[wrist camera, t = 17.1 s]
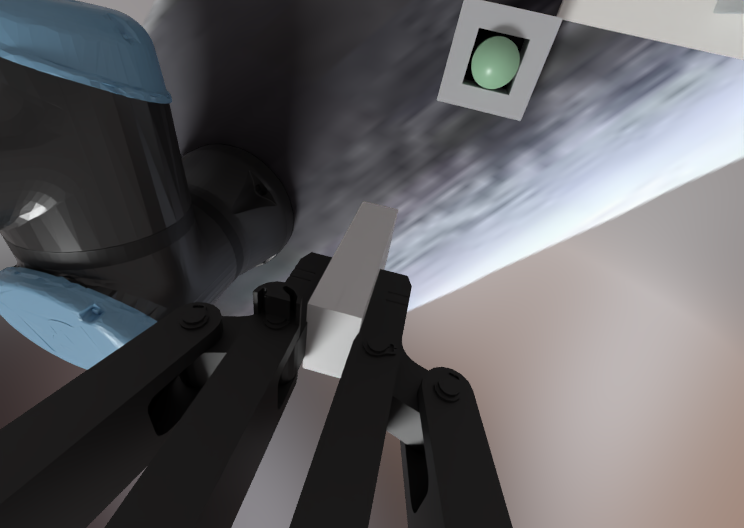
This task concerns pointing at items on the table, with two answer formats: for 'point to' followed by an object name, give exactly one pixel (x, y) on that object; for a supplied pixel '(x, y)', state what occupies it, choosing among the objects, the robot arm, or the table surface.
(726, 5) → the small box
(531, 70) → the button box
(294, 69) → the table surface
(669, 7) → the sheet
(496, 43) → the button
